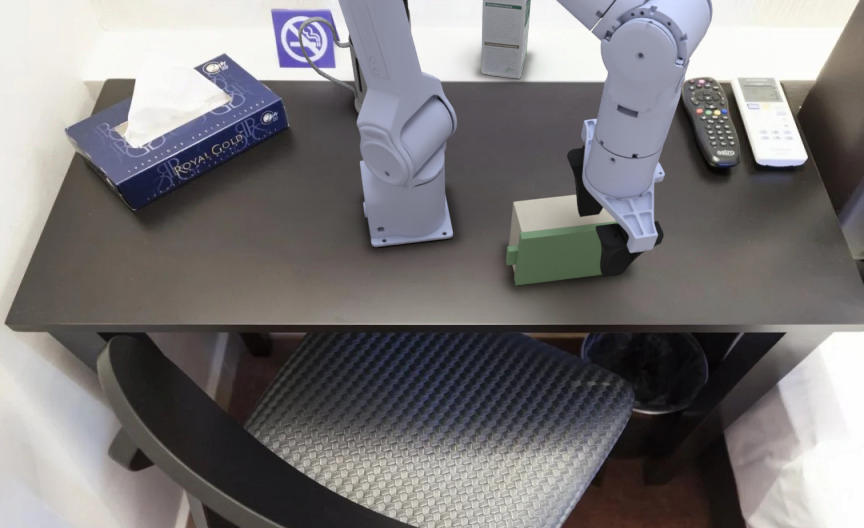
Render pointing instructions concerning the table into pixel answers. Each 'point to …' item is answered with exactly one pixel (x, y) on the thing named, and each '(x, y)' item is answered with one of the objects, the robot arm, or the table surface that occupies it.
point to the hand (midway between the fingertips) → (599, 242)
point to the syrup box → (504, 37)
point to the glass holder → (358, 75)
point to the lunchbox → (554, 240)
